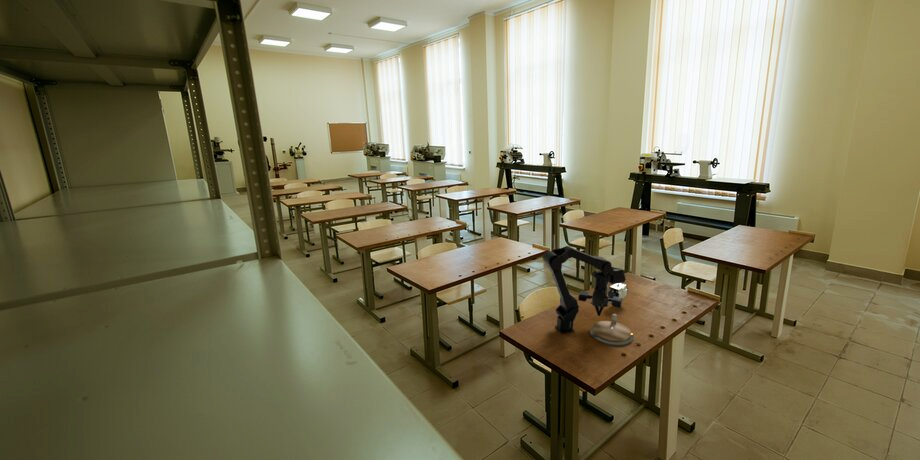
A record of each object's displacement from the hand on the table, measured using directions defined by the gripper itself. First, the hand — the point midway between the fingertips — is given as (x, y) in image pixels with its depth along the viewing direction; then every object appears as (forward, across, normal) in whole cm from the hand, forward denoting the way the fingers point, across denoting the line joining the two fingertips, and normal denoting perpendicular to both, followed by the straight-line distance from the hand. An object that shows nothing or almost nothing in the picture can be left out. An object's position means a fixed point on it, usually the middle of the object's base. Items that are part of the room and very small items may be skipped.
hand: (598, 315), depth 180 cm
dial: (+4, +7, -7) cm, 10 cm away
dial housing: (+5, +7, -7) cm, 11 cm away
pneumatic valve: (+5, +5, +24) cm, 25 cm away
